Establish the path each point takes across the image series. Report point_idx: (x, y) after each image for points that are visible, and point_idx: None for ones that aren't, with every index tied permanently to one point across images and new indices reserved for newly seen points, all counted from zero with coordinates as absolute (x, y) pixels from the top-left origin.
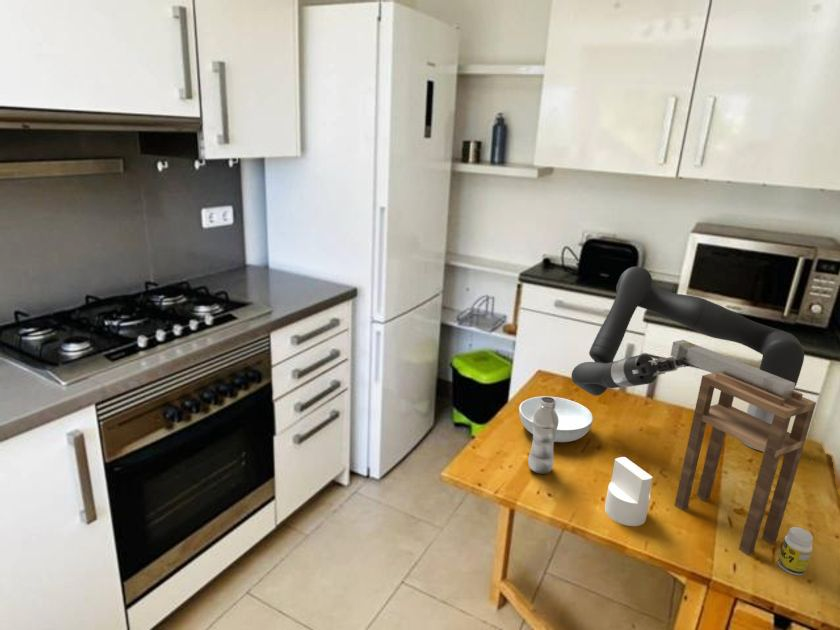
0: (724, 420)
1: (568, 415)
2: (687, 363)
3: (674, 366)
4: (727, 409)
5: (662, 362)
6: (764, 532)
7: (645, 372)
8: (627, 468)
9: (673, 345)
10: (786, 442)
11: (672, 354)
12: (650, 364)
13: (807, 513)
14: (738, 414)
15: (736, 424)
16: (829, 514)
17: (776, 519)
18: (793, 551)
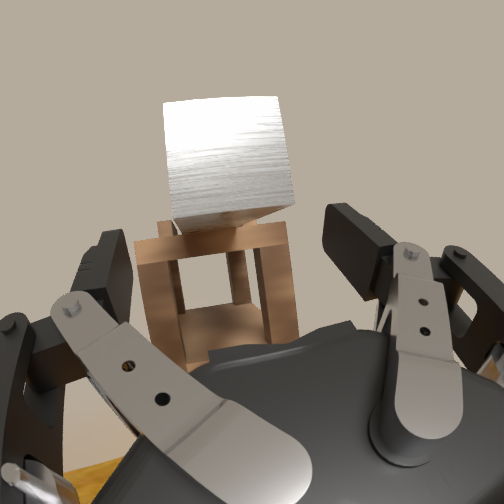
0: (253, 328)
1: None
2: (125, 312)
3: (325, 234)
4: (192, 350)
5: (374, 230)
6: None
7: (466, 334)
8: None
9: (279, 122)
10: (207, 308)
11: (288, 190)
12: (445, 249)
13: (104, 479)
14: (190, 340)
15: (240, 323)
16: (83, 469)
17: None
18: None
